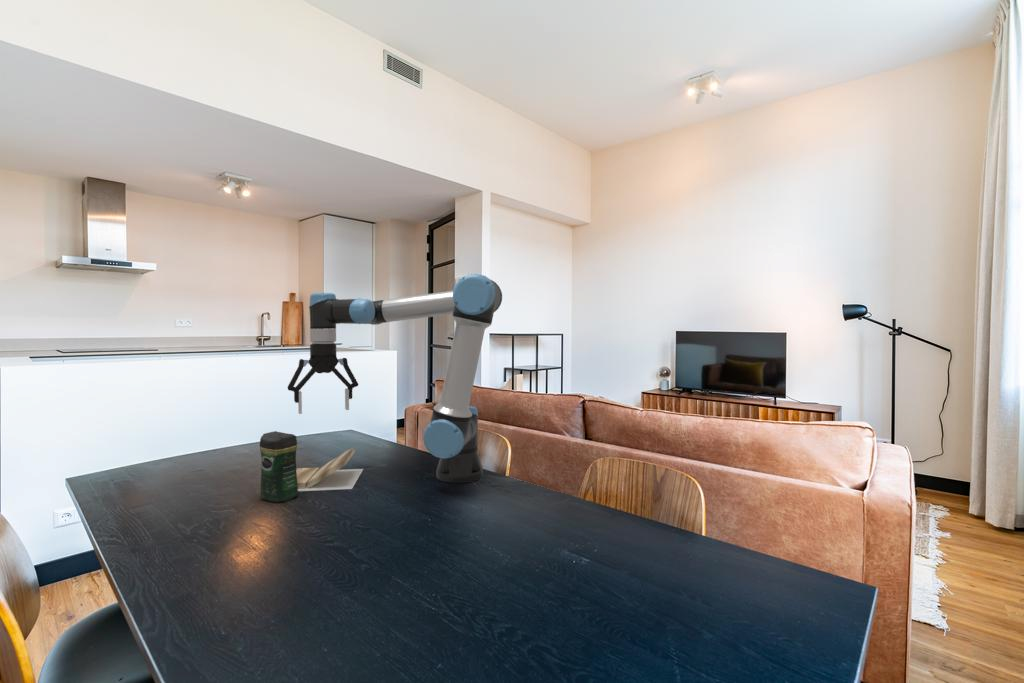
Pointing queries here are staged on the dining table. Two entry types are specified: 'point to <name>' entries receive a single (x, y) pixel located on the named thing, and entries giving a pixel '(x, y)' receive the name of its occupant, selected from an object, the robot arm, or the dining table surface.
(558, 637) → the dining table surface
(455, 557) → the dining table surface
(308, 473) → the laid section
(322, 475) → the plank
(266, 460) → the coffee jar
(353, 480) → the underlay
